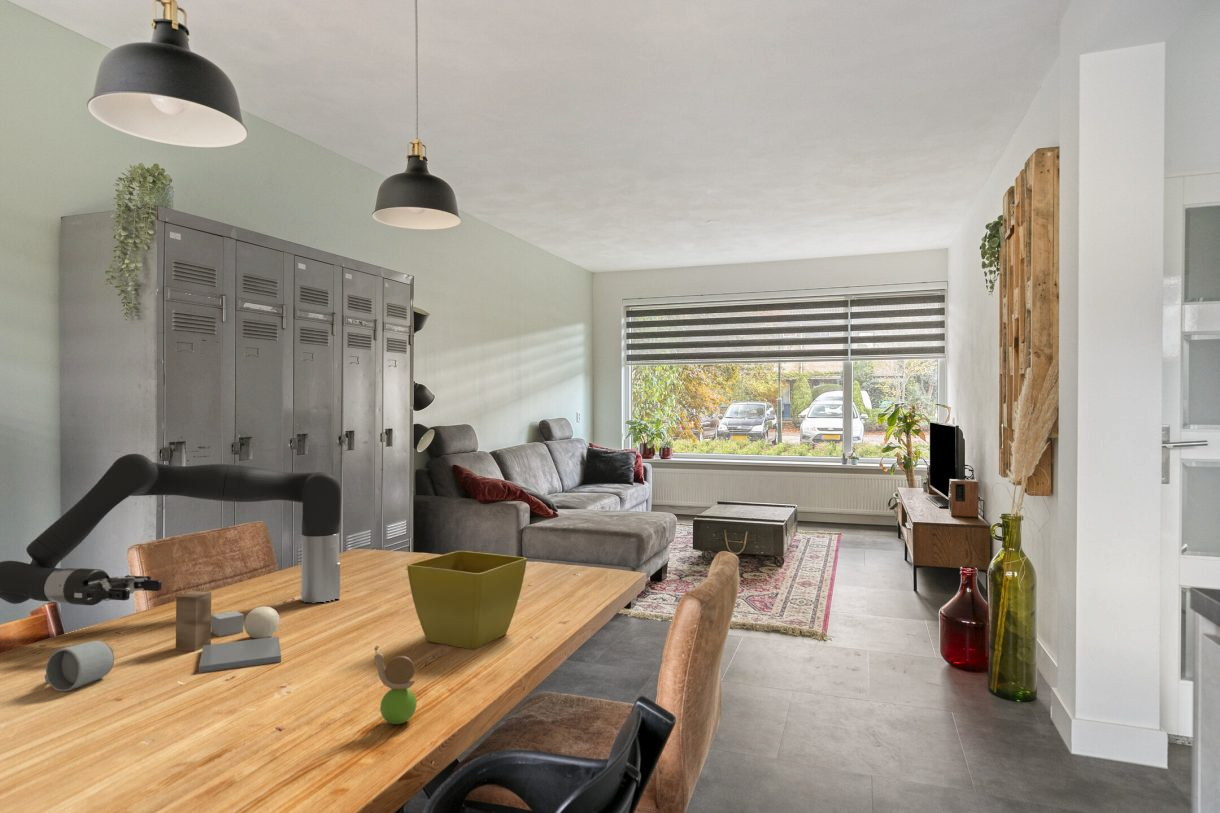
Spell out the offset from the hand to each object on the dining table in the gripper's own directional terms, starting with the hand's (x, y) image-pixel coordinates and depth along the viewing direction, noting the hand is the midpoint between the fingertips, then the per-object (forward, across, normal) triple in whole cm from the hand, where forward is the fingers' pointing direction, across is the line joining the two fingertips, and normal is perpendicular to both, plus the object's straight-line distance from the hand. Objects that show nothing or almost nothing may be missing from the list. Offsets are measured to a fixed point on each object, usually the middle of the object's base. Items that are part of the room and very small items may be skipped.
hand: (144, 590), depth 152 cm
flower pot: (+66, +15, +10) cm, 68 cm away
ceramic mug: (+6, -22, +12) cm, 25 cm away
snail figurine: (+70, -28, +11) cm, 76 cm away
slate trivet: (+25, -4, +11) cm, 28 cm away
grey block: (+11, +11, +11) cm, 19 cm away
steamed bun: (+22, +8, +11) cm, 26 cm away
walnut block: (+12, 0, +11) cm, 16 cm away
